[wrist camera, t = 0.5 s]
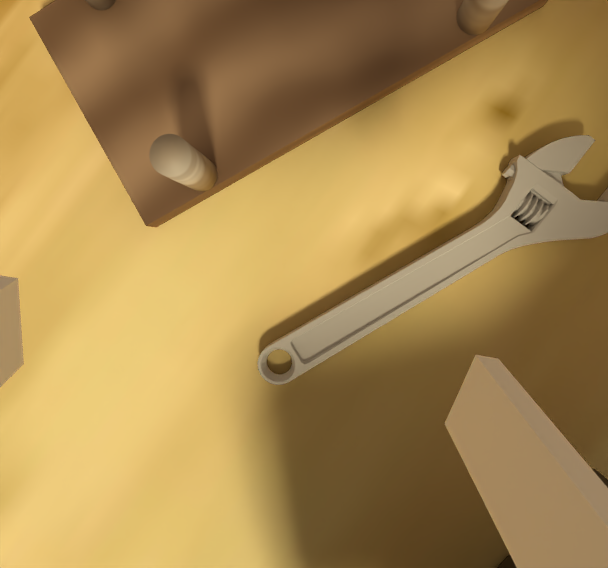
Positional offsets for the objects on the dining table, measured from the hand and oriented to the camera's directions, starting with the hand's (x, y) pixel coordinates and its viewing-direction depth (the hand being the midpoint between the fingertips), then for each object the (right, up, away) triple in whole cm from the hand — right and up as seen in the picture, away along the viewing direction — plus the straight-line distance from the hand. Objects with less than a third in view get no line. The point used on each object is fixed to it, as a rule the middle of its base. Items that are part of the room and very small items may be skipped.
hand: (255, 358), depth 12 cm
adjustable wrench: (+9, +4, +14) cm, 18 cm away
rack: (0, +18, +13) cm, 22 cm away
